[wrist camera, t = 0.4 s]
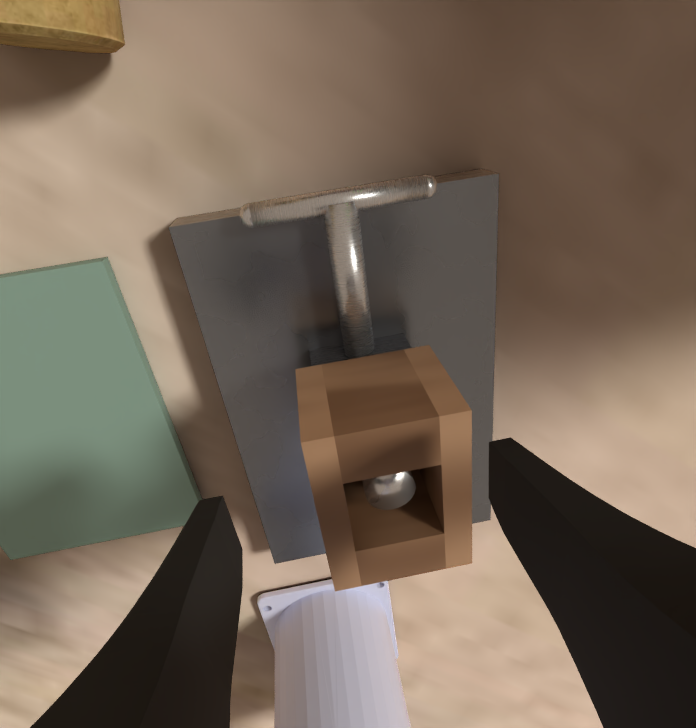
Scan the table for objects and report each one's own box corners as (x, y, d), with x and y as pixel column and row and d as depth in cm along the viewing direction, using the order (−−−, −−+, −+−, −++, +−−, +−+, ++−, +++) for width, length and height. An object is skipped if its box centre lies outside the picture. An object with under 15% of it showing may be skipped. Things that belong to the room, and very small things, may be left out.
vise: (479, 498, 27) (537, 611, 21) (274, 539, 27) (274, 667, 20) (482, 154, 18) (586, 177, 12) (172, 204, 18) (117, 254, 11)
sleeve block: (436, 480, 21) (472, 563, 17) (324, 502, 21) (334, 591, 17) (429, 344, 18) (471, 410, 14) (295, 369, 18) (300, 442, 14)
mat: (207, 512, 25) (206, 521, 24) (16, 550, 24) (10, 559, 24) (107, 257, 18) (102, 261, 18) (-162, 301, 18) (-175, 306, 17)
